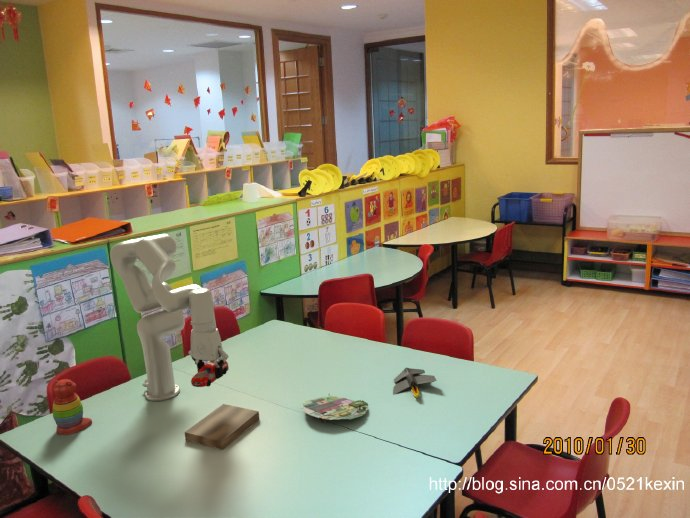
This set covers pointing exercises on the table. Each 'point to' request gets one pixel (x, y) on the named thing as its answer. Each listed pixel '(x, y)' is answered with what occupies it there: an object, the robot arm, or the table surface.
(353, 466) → the table surface
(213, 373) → the race car
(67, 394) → the stacking bear
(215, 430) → the walnut base
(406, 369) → the toy plane
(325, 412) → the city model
